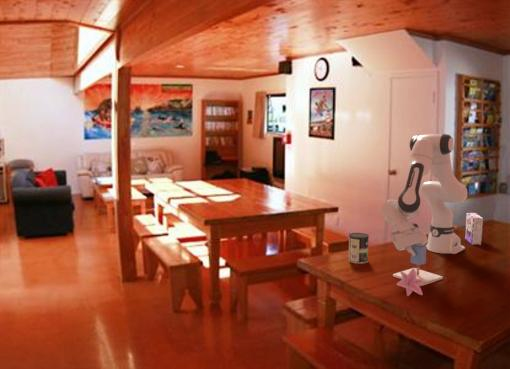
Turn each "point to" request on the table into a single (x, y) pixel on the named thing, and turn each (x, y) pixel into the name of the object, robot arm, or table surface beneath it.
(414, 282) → the lily
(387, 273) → the table surface
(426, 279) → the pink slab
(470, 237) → the candy box
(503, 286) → the table surface
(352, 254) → the coffee can
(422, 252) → the blue domed block
